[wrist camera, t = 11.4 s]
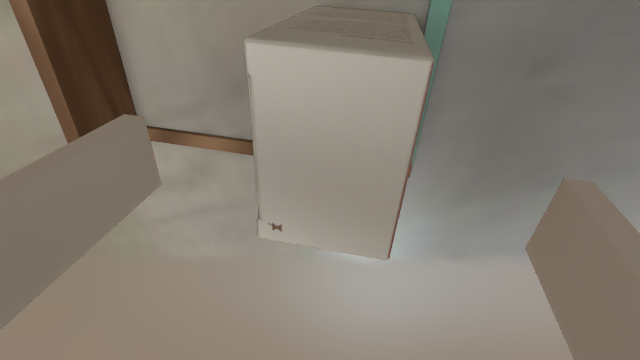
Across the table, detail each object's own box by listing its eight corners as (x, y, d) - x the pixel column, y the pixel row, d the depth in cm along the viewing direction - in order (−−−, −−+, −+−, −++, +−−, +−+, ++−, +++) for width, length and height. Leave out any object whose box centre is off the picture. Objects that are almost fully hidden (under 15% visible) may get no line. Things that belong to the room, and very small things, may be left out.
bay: (459, -33, 16) (482, -32, 12) (409, 175, 23) (412, 222, 18) (73, -58, 19) (-18, -64, 14) (130, 135, 25) (78, 168, 21)
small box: (391, 146, 22) (389, 267, 13) (308, 135, 22) (254, 243, 14) (418, 11, 17) (442, 57, 9) (313, 2, 18) (239, 36, 9)
